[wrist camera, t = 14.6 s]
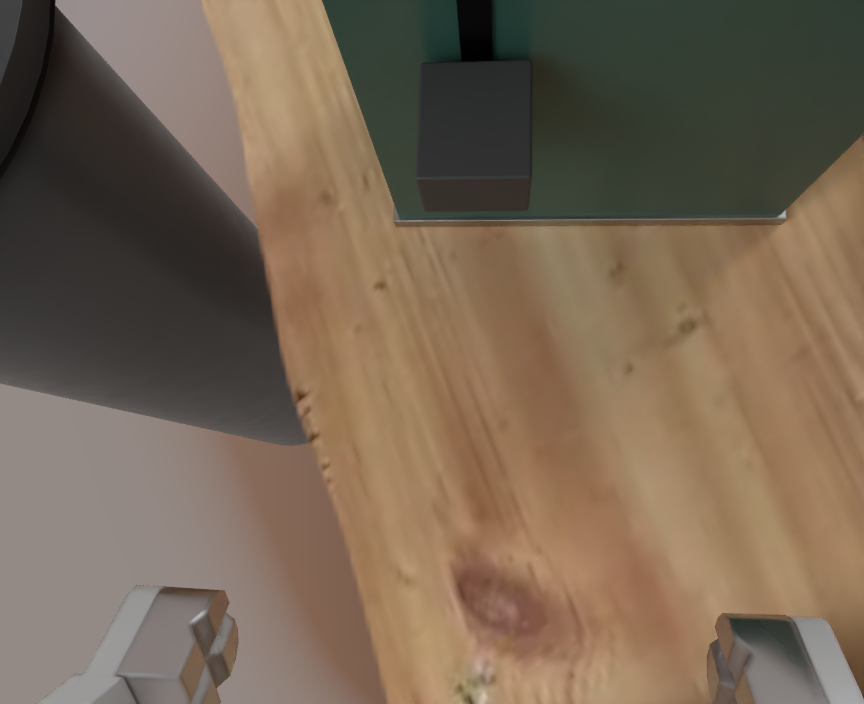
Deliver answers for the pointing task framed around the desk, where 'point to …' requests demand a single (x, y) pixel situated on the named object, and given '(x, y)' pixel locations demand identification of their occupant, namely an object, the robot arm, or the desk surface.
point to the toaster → (627, 101)
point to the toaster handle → (475, 136)
